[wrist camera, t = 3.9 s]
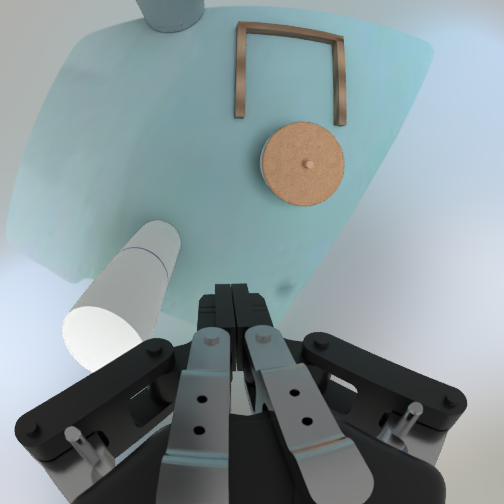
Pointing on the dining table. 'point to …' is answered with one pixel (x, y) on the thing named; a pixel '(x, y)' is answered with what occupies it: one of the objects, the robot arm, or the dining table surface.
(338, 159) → the lidded jar
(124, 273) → the cylindrical container
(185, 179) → the dining table surface
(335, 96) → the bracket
